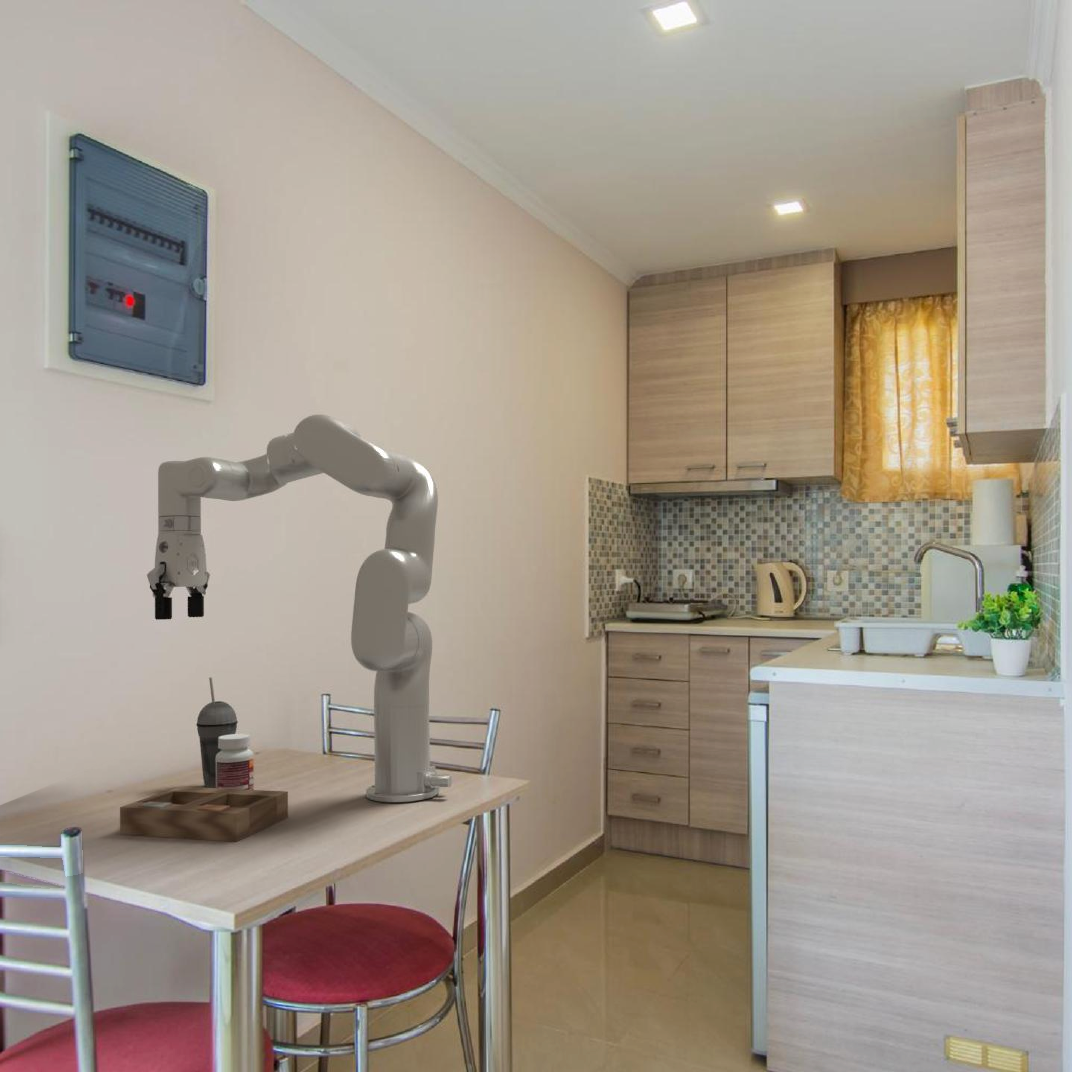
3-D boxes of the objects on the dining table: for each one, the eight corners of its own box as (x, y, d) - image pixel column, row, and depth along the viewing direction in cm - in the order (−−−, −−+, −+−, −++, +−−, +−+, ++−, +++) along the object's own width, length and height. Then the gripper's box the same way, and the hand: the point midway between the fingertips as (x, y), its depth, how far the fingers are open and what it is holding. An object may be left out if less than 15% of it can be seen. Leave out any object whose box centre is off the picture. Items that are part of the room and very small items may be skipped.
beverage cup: (230, 790, 166) (229, 679, 167) (190, 791, 167) (189, 679, 167) (243, 781, 174) (243, 674, 175) (205, 782, 174) (204, 675, 175)
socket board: (288, 817, 147) (287, 789, 147) (236, 841, 133) (236, 811, 133) (179, 811, 152) (179, 784, 152) (120, 834, 138) (120, 805, 139)
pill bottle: (258, 804, 156) (257, 736, 156) (221, 809, 152) (220, 740, 153) (247, 797, 161) (247, 732, 161) (211, 802, 157) (211, 735, 158)
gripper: (168, 524, 165) (168, 620, 164) (223, 528, 181) (224, 616, 181) (131, 525, 167) (131, 620, 166) (190, 530, 183) (190, 616, 182)
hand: (180, 618), depth 173 cm, fingers open, 9 cm apart
